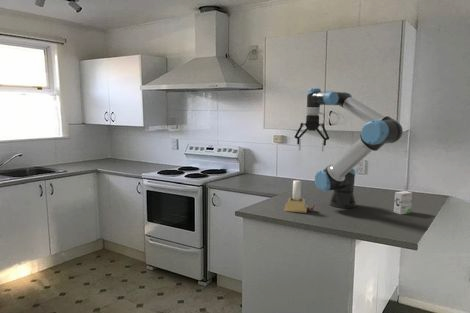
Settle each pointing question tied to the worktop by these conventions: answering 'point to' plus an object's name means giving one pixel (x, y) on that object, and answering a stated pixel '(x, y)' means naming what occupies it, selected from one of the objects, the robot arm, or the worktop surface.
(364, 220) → the worktop surface
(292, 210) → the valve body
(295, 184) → the pipe stub
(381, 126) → the robot arm
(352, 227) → the worktop surface
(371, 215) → the worktop surface
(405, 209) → the ink box
